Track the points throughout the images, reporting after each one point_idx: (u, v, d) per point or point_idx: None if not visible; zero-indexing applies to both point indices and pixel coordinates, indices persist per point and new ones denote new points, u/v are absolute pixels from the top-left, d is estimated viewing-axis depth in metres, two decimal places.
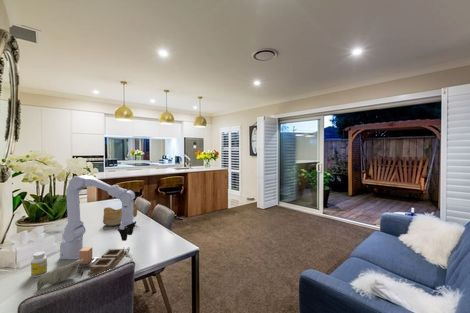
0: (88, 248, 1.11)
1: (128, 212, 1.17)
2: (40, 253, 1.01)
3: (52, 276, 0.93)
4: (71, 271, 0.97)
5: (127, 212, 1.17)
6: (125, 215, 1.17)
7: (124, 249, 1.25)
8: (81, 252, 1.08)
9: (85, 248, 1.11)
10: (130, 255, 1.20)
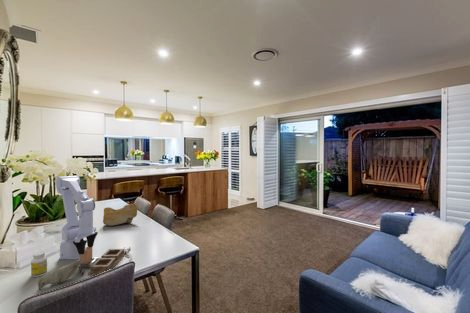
0: (88, 248, 1.11)
1: (81, 223, 1.07)
2: (40, 253, 1.01)
3: (53, 276, 0.93)
4: (72, 271, 0.97)
5: (80, 223, 1.07)
6: (82, 226, 1.07)
7: (124, 249, 1.25)
8: None
9: (85, 248, 1.11)
10: (130, 255, 1.19)
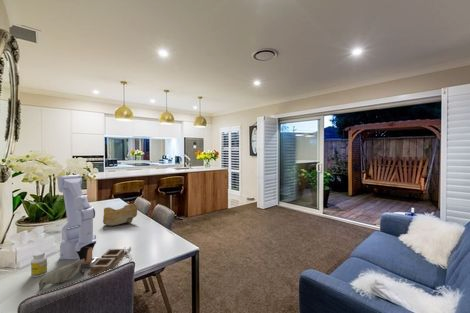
0: None
1: (81, 232, 1.07)
2: (40, 253, 1.01)
3: (53, 276, 0.93)
4: (72, 270, 0.97)
5: (80, 231, 1.07)
6: (82, 235, 1.07)
7: (125, 249, 1.25)
8: None
9: None
10: (130, 255, 1.19)
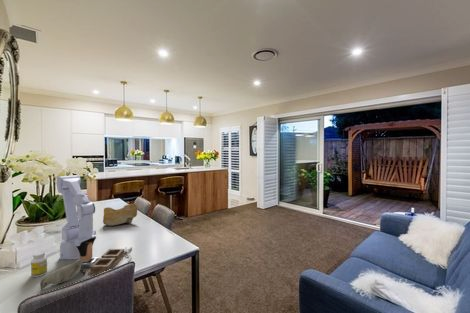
0: None
1: (81, 227, 1.07)
2: (40, 253, 1.01)
3: (55, 276, 0.93)
4: (74, 270, 0.97)
5: (80, 226, 1.07)
6: (82, 230, 1.07)
7: (126, 249, 1.24)
8: None
9: None
10: (129, 256, 1.19)
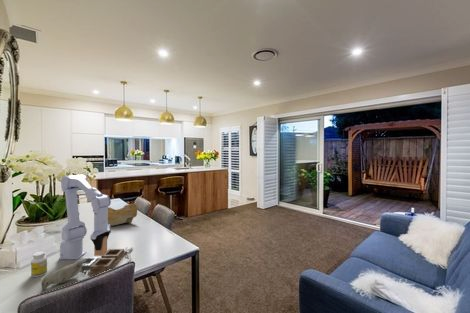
0: None
1: (97, 220, 1.04)
2: (40, 253, 1.01)
3: (56, 276, 0.93)
4: (75, 270, 0.97)
5: (96, 220, 1.04)
6: (98, 223, 1.04)
7: (126, 249, 1.24)
8: None
9: None
10: (129, 256, 1.18)
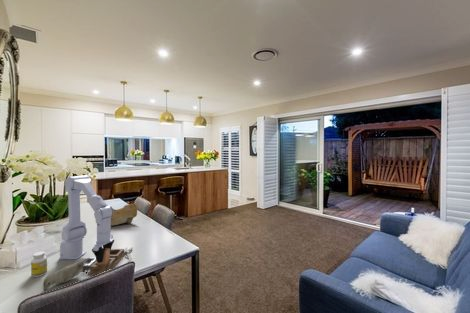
0: (106, 249, 1.08)
1: (100, 231, 1.04)
2: (40, 253, 1.01)
3: (58, 276, 0.93)
4: (76, 270, 0.98)
5: (99, 231, 1.04)
6: (100, 234, 1.04)
7: (126, 250, 1.24)
8: None
9: None
10: (129, 256, 1.18)
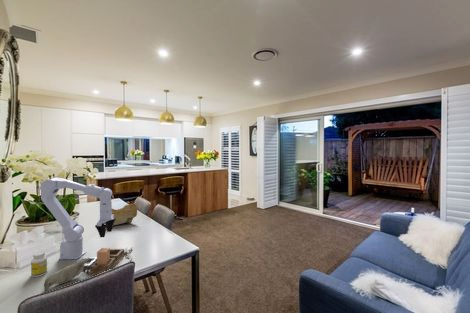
0: (106, 249, 1.08)
1: (107, 209, 1.21)
2: (40, 253, 1.01)
3: (59, 276, 0.93)
4: (77, 270, 0.98)
5: (106, 209, 1.20)
6: (103, 212, 1.20)
7: (126, 250, 1.24)
8: (99, 253, 1.05)
9: (103, 249, 1.07)
10: (130, 256, 1.18)
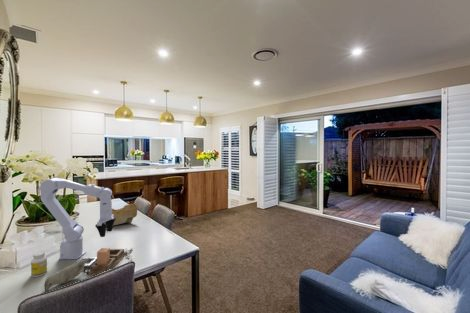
0: (106, 249, 1.08)
1: (107, 209, 1.21)
2: (40, 253, 1.01)
3: (59, 276, 0.93)
4: (77, 270, 0.98)
5: (106, 209, 1.21)
6: (103, 212, 1.20)
7: (126, 250, 1.24)
8: (99, 253, 1.05)
9: (103, 249, 1.07)
10: (130, 257, 1.18)
